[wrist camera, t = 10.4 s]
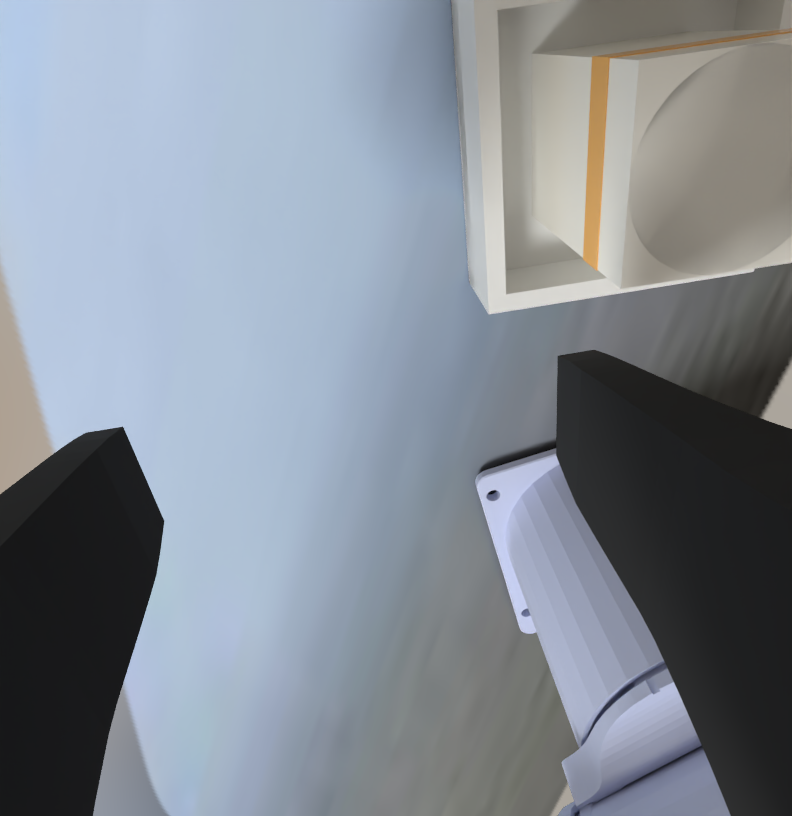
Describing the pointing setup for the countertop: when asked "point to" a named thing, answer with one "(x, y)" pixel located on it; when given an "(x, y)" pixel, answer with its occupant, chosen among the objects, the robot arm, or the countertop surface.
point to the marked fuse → (667, 153)
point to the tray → (512, 128)
